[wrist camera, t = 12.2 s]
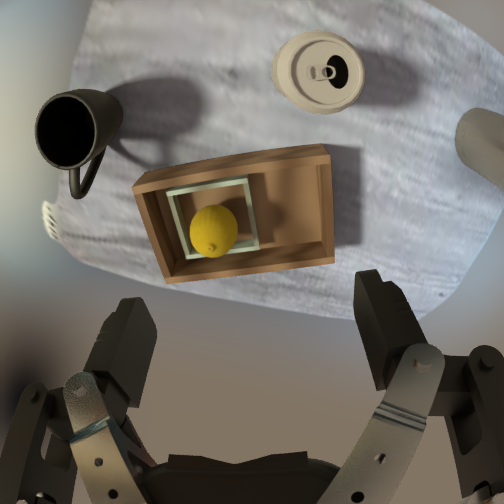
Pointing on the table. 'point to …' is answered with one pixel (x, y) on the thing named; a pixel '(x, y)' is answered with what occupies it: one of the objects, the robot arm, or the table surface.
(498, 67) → the table surface
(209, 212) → the lemon
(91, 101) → the mug
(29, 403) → the robot arm
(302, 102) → the can
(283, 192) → the caddy
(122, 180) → the table surface
